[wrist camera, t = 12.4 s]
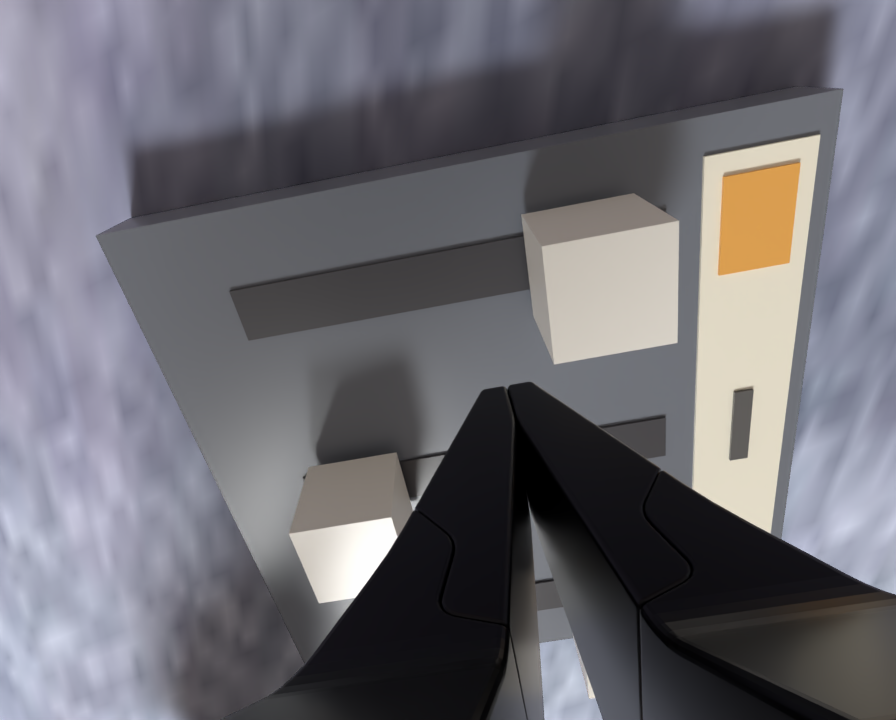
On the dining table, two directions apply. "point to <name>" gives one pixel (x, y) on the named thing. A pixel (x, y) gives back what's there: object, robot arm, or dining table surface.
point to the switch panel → (487, 316)
